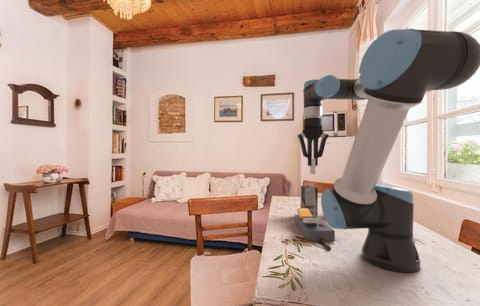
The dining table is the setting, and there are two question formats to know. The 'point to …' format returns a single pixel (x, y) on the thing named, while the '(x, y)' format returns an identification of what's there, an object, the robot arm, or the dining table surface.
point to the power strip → (316, 231)
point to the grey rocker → (311, 220)
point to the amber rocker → (304, 213)
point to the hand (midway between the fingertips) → (312, 173)
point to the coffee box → (309, 198)
